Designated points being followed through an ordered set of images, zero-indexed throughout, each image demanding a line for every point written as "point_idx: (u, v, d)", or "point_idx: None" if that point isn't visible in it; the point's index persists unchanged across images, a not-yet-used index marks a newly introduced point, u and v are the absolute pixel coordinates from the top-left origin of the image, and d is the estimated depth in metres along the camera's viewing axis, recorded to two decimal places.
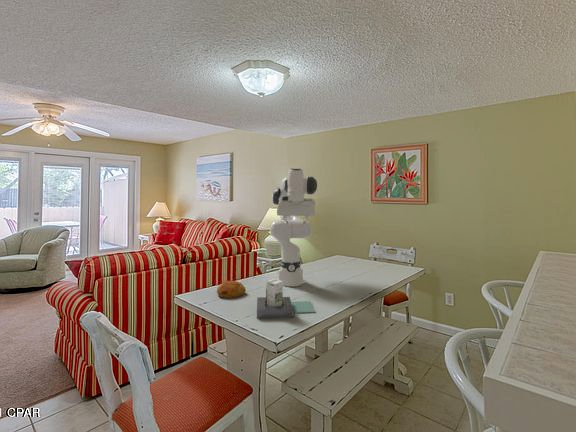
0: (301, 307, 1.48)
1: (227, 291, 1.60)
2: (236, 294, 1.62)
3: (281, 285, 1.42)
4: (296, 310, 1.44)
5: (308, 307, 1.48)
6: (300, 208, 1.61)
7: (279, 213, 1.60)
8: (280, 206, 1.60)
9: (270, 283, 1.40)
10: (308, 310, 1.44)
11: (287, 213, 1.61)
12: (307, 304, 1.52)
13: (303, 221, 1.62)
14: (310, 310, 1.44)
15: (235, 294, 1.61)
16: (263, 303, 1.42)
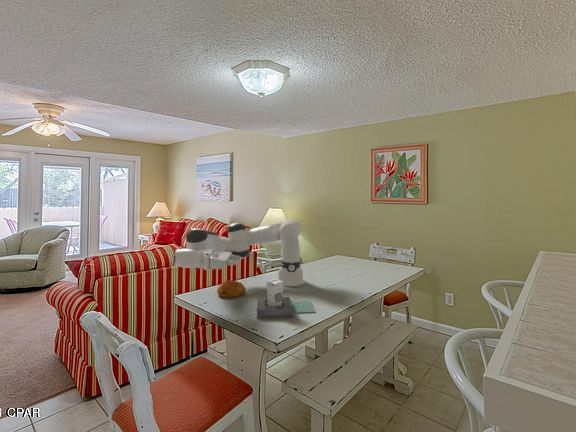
0: (301, 307, 1.48)
1: (227, 291, 1.60)
2: (236, 294, 1.62)
3: (281, 285, 1.42)
4: (296, 310, 1.44)
5: (308, 307, 1.48)
6: (222, 255, 1.44)
7: (223, 259, 1.33)
8: (215, 258, 1.33)
9: (270, 283, 1.40)
10: (308, 310, 1.44)
11: (225, 257, 1.37)
12: (307, 304, 1.52)
13: (237, 256, 1.46)
14: (310, 310, 1.44)
15: (235, 294, 1.61)
16: (263, 303, 1.42)
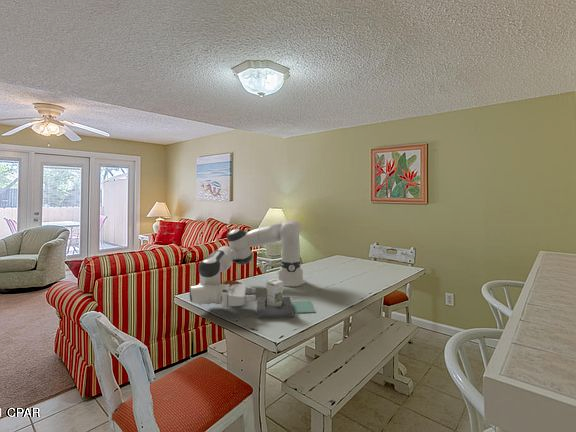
0: (301, 307, 1.48)
1: None
2: None
3: (281, 285, 1.42)
4: (296, 310, 1.44)
5: (308, 307, 1.48)
6: (237, 288, 1.43)
7: (242, 296, 1.32)
8: (233, 295, 1.33)
9: (270, 283, 1.40)
10: (308, 310, 1.44)
11: (242, 293, 1.37)
12: (307, 304, 1.52)
13: (252, 289, 1.46)
14: (310, 310, 1.44)
15: None
16: (263, 303, 1.42)
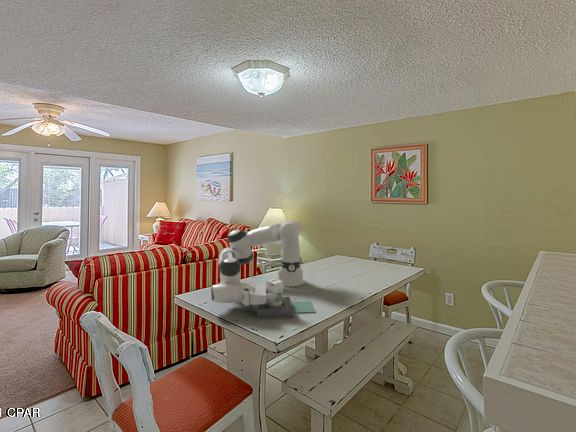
0: (301, 307, 1.48)
1: None
2: None
3: (281, 285, 1.42)
4: (296, 310, 1.44)
5: (308, 307, 1.48)
6: (258, 287, 1.44)
7: (264, 294, 1.34)
8: (255, 294, 1.34)
9: (270, 283, 1.40)
10: (308, 310, 1.44)
11: (264, 291, 1.38)
12: (307, 304, 1.52)
13: None
14: (310, 310, 1.44)
15: None
16: None
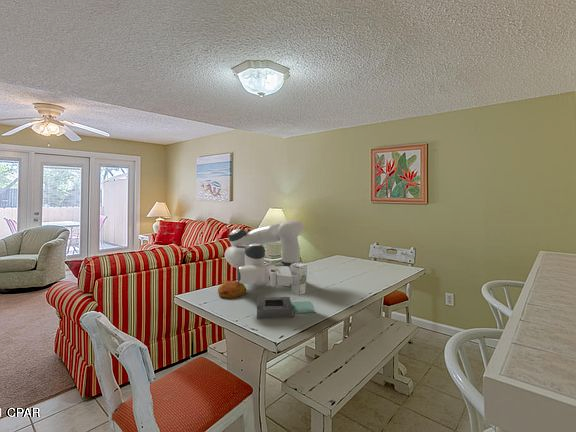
0: (301, 307, 1.48)
1: (228, 291, 1.60)
2: (237, 294, 1.62)
3: (305, 268, 1.46)
4: (296, 310, 1.44)
5: (308, 307, 1.48)
6: (282, 269, 1.48)
7: (290, 275, 1.37)
8: (282, 275, 1.37)
9: (295, 266, 1.44)
10: (308, 310, 1.44)
11: (289, 273, 1.41)
12: (307, 304, 1.52)
13: None
14: (310, 310, 1.44)
15: (236, 294, 1.61)
16: (263, 303, 1.42)
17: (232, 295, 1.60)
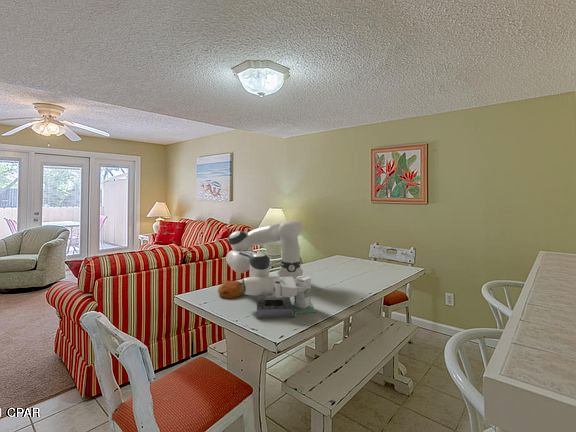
0: None
1: (228, 291, 1.60)
2: (237, 294, 1.62)
3: (309, 281, 1.47)
4: (296, 310, 1.44)
5: (308, 307, 1.48)
6: (287, 280, 1.50)
7: (295, 287, 1.39)
8: None
9: (299, 279, 1.45)
10: (308, 310, 1.44)
11: (294, 284, 1.43)
12: None
13: None
14: (310, 310, 1.44)
15: (236, 294, 1.61)
16: (263, 303, 1.42)
17: (232, 295, 1.60)
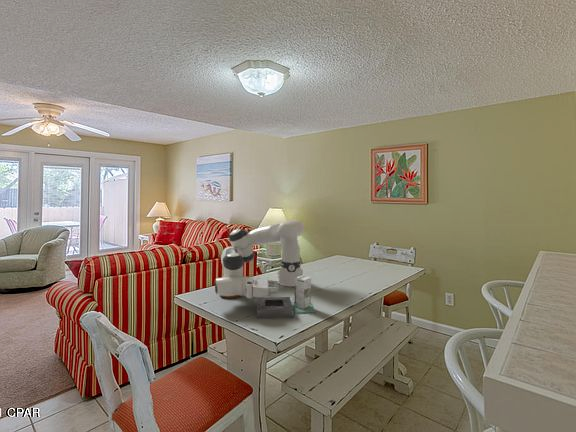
0: None
1: None
2: None
3: (309, 281, 1.47)
4: (296, 310, 1.44)
5: (308, 307, 1.48)
6: (260, 281, 1.48)
7: (266, 287, 1.38)
8: (258, 286, 1.38)
9: (299, 279, 1.45)
10: (308, 310, 1.44)
11: (266, 285, 1.42)
12: None
13: (274, 281, 1.51)
14: (310, 310, 1.44)
15: None
16: (263, 303, 1.42)
17: None
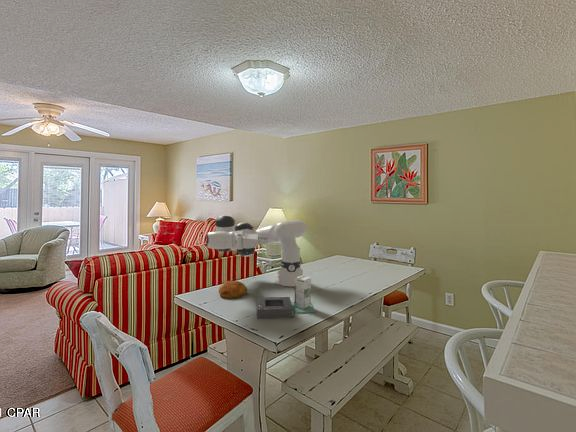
0: None
1: (229, 291, 1.60)
2: (238, 294, 1.62)
3: (309, 281, 1.47)
4: (296, 310, 1.44)
5: (308, 307, 1.48)
6: (250, 236, 1.53)
7: (255, 239, 1.43)
8: None
9: (299, 279, 1.45)
10: (308, 310, 1.44)
11: (255, 237, 1.47)
12: None
13: (264, 237, 1.56)
14: (310, 310, 1.44)
15: (237, 294, 1.61)
16: (263, 303, 1.42)
17: (233, 295, 1.60)
